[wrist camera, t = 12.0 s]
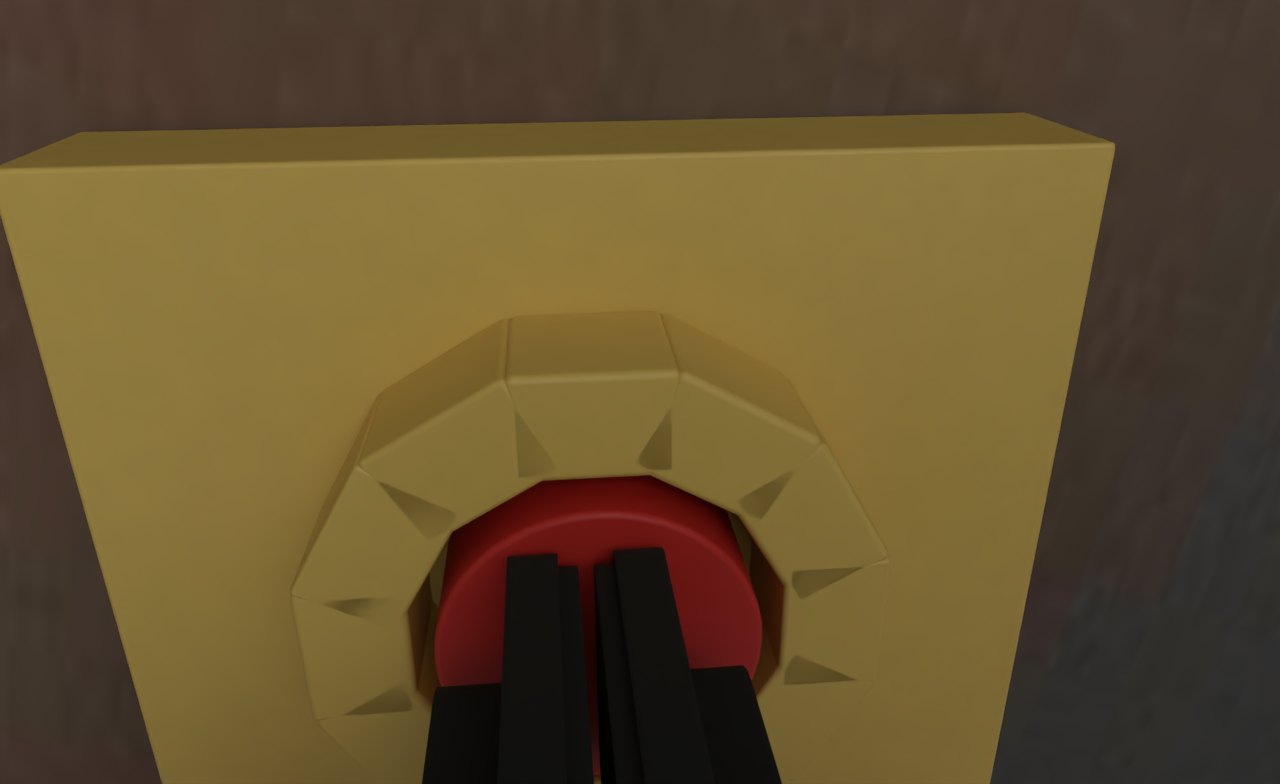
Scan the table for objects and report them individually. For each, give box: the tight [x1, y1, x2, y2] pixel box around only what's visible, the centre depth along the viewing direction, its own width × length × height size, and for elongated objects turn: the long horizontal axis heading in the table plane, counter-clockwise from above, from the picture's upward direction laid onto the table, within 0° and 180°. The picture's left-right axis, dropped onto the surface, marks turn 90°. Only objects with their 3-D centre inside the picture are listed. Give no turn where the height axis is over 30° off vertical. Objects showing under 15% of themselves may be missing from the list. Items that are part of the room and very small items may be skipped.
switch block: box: [0, 113, 1115, 784], centre depth 13 cm, size 12×10×4 cm
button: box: [434, 475, 762, 774], centre depth 11 cm, size 4×4×2 cm
